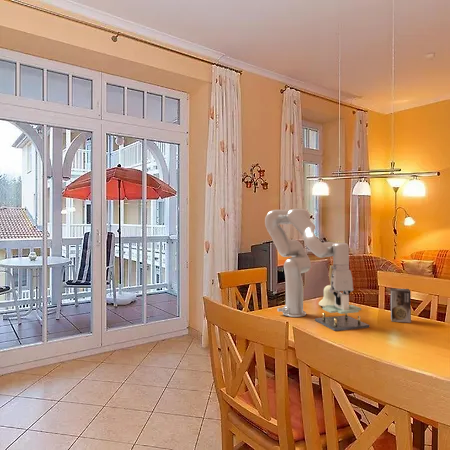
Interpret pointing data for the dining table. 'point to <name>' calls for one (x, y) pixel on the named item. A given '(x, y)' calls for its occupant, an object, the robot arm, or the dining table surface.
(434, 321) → the dining table surface
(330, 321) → the plate
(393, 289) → the coffee box
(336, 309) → the board
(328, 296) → the handbell
